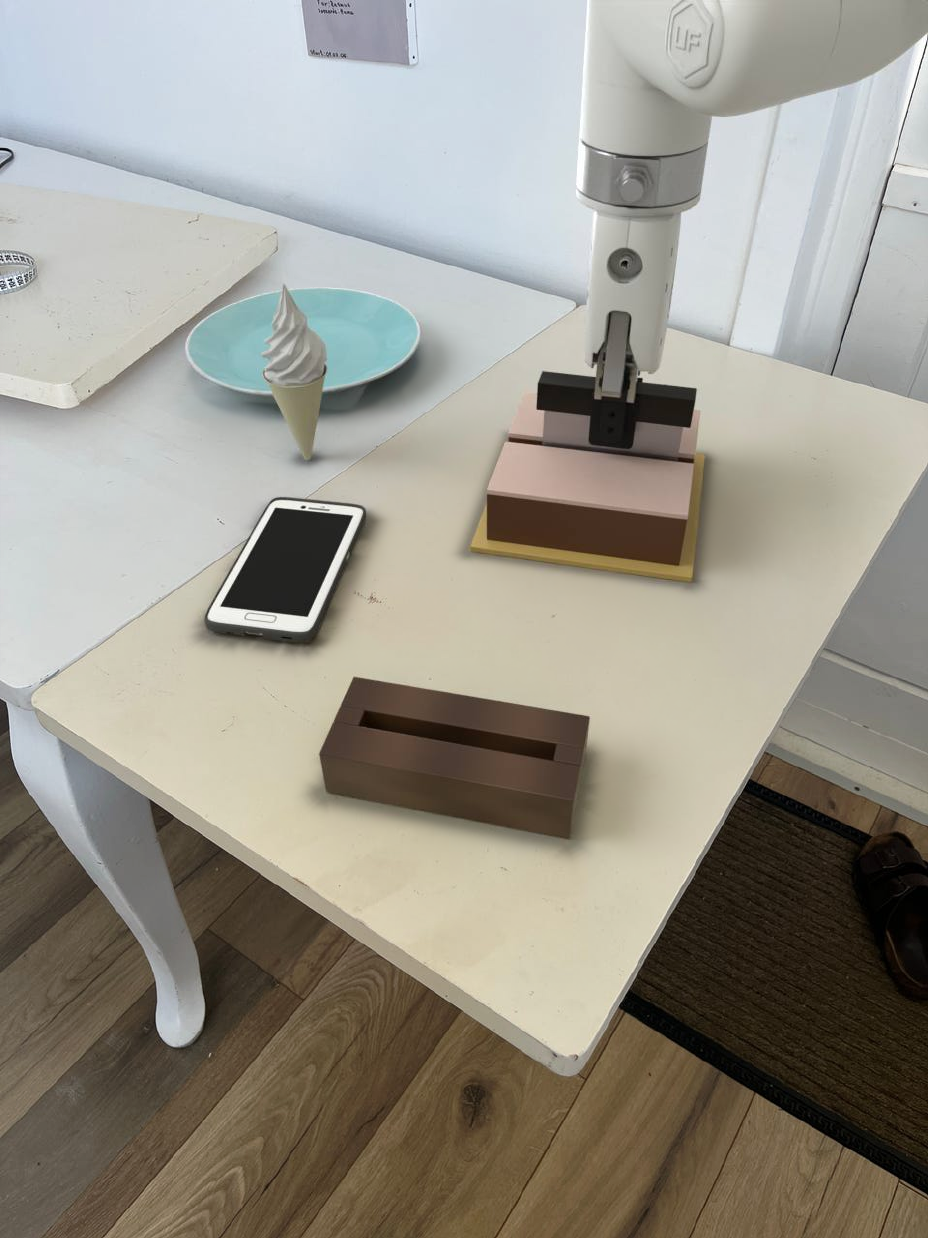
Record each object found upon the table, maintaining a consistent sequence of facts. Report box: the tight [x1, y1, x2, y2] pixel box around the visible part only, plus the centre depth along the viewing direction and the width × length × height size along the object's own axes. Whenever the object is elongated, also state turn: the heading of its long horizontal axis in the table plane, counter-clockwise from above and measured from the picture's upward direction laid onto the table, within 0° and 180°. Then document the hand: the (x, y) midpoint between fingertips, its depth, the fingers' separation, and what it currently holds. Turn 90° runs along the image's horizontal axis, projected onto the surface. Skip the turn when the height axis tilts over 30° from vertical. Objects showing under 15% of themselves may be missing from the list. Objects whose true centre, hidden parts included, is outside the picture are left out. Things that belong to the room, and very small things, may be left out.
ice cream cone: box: [261, 283, 328, 462], centre depth 74 cm, size 5×5×15 cm
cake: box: [469, 391, 706, 583], centre depth 72 cm, size 16×16×5 cm
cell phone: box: [203, 496, 367, 643], centre depth 68 cm, size 8×15×1 cm, turn 169°
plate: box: [184, 287, 422, 398], centre depth 91 cm, size 22×22×3 cm
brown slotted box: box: [318, 676, 591, 840], centre depth 54 cm, size 14×6×4 cm, turn 76°
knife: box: [536, 370, 698, 462], centre depth 70 cm, size 11×2×10 cm, turn 76°
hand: (612, 433), depth 70 cm, fingers closed on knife, 2 cm apart
